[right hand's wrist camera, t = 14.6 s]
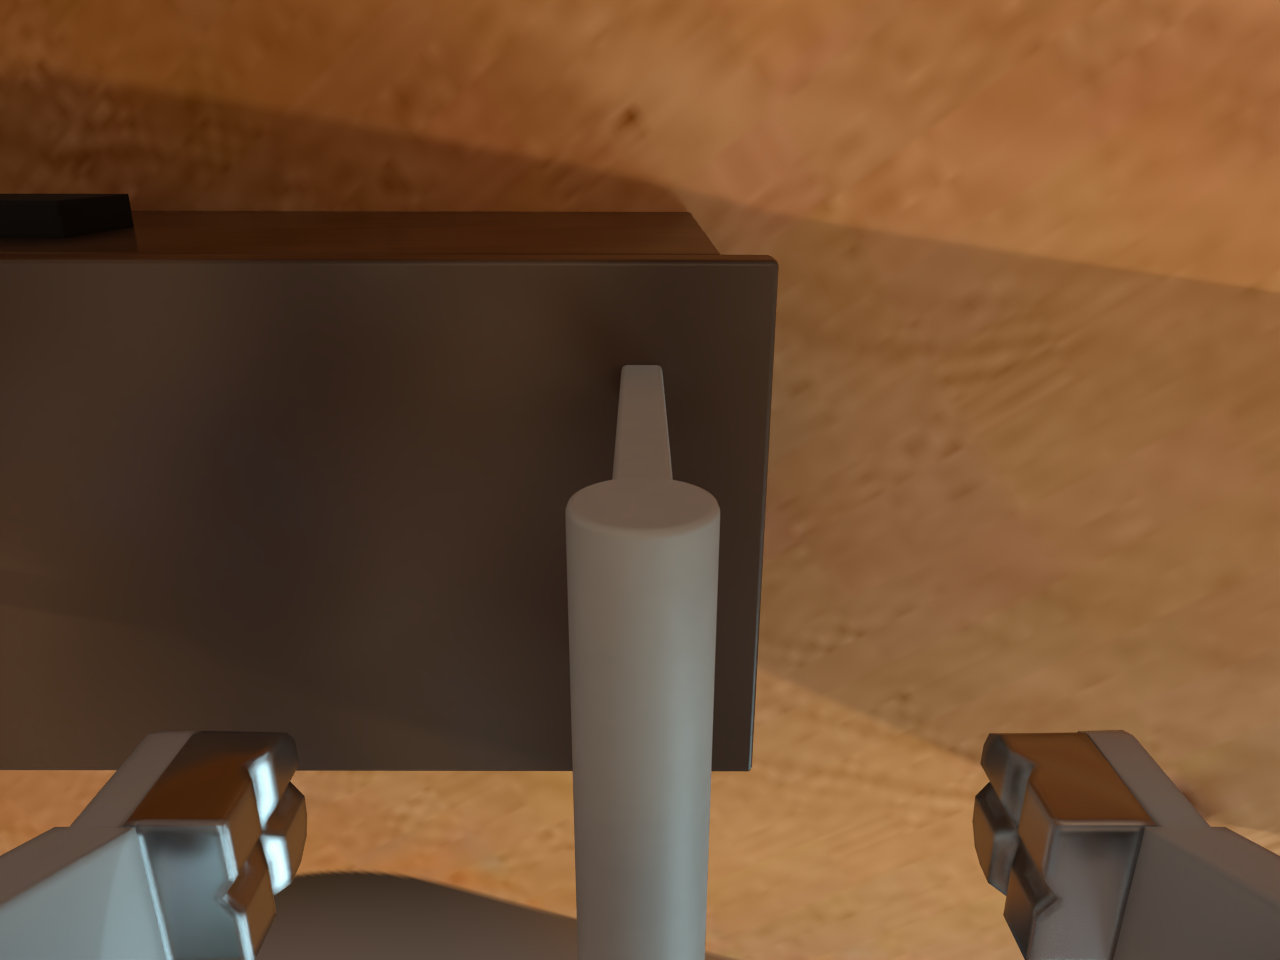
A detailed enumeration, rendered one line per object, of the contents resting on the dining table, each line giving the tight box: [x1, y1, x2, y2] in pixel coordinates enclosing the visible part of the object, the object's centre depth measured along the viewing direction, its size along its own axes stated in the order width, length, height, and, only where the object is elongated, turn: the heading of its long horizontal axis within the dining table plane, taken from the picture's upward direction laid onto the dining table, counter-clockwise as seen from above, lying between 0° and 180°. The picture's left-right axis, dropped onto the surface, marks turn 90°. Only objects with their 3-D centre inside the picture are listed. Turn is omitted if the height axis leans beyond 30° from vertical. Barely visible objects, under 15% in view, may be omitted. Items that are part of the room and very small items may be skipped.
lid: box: [0, 254, 778, 960], centre depth 14 cm, size 18×10×8 cm, turn 90°
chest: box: [0, 211, 720, 255], centre depth 23 cm, size 17×10×11 cm, turn 90°
